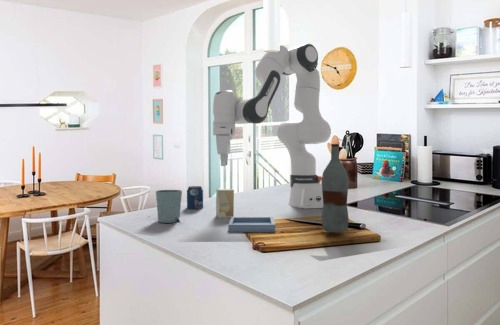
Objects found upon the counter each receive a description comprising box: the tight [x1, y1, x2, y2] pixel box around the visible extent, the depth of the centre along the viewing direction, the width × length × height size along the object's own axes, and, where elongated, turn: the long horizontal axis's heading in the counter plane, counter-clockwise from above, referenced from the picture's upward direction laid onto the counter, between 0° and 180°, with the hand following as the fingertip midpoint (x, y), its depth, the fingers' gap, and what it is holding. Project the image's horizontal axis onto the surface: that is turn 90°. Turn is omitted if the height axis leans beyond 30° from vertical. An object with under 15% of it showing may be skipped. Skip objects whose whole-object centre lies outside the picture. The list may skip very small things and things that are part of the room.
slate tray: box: [227, 216, 276, 233], centre depth 156 cm, size 16×16×2 cm
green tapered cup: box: [155, 189, 183, 224], centre depth 172 cm, size 10×10×12 cm
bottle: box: [321, 143, 350, 233], centre depth 150 cm, size 9×9×30 cm
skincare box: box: [215, 188, 235, 219], centre depth 173 cm, size 6×4×12 cm
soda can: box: [186, 185, 204, 211], centre depth 187 cm, size 7×7×12 cm
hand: (224, 165), depth 173 cm, fingers open, 8 cm apart
